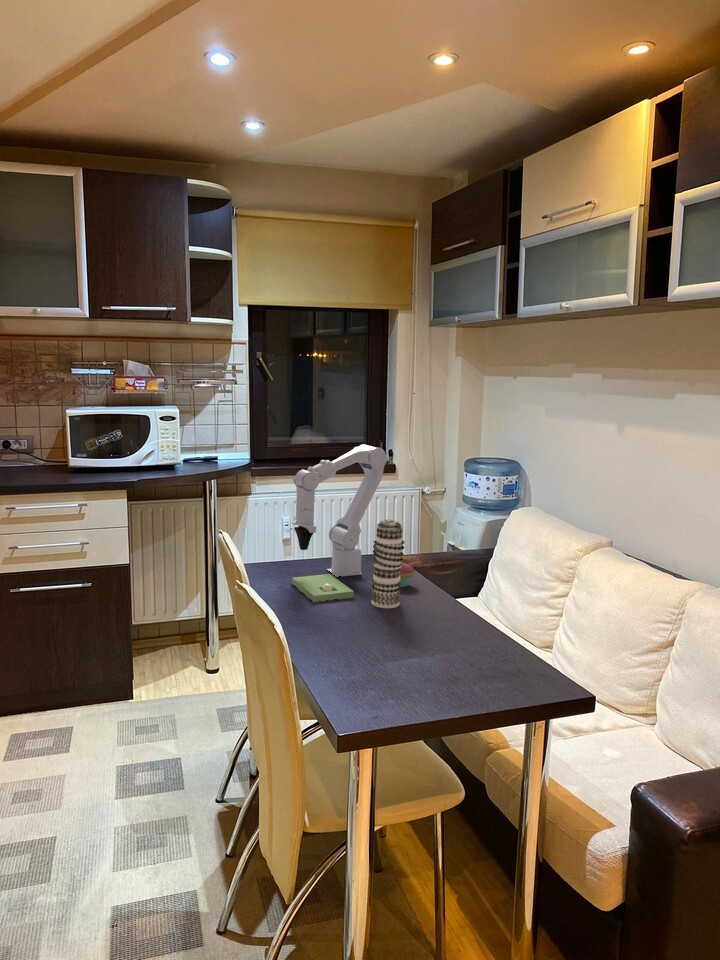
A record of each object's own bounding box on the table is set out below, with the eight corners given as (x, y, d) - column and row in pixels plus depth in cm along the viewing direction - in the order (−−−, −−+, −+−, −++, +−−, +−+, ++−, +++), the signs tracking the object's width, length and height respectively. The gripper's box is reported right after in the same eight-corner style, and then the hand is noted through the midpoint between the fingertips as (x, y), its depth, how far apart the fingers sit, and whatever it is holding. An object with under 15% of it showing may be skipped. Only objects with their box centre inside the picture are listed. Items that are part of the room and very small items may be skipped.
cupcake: (382, 581, 234) (384, 546, 232) (405, 579, 238) (408, 544, 235) (395, 590, 226) (397, 553, 224) (418, 587, 230) (421, 551, 228)
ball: (331, 595, 220) (329, 584, 221) (335, 592, 217) (333, 581, 219) (321, 596, 219) (319, 585, 220) (325, 593, 216) (323, 582, 217)
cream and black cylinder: (401, 609, 209) (406, 526, 205) (369, 607, 209) (374, 524, 205) (400, 599, 218) (405, 518, 214) (370, 597, 218) (374, 517, 214)
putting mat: (329, 579, 233) (329, 573, 233) (353, 597, 217) (353, 591, 217) (291, 583, 228) (292, 577, 227) (313, 602, 212) (313, 595, 211)
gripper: (285, 503, 233) (284, 544, 236) (301, 513, 221) (300, 556, 223) (305, 502, 236) (304, 542, 239) (322, 512, 224) (321, 554, 226)
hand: (303, 549), depth 231 cm, fingers closed
